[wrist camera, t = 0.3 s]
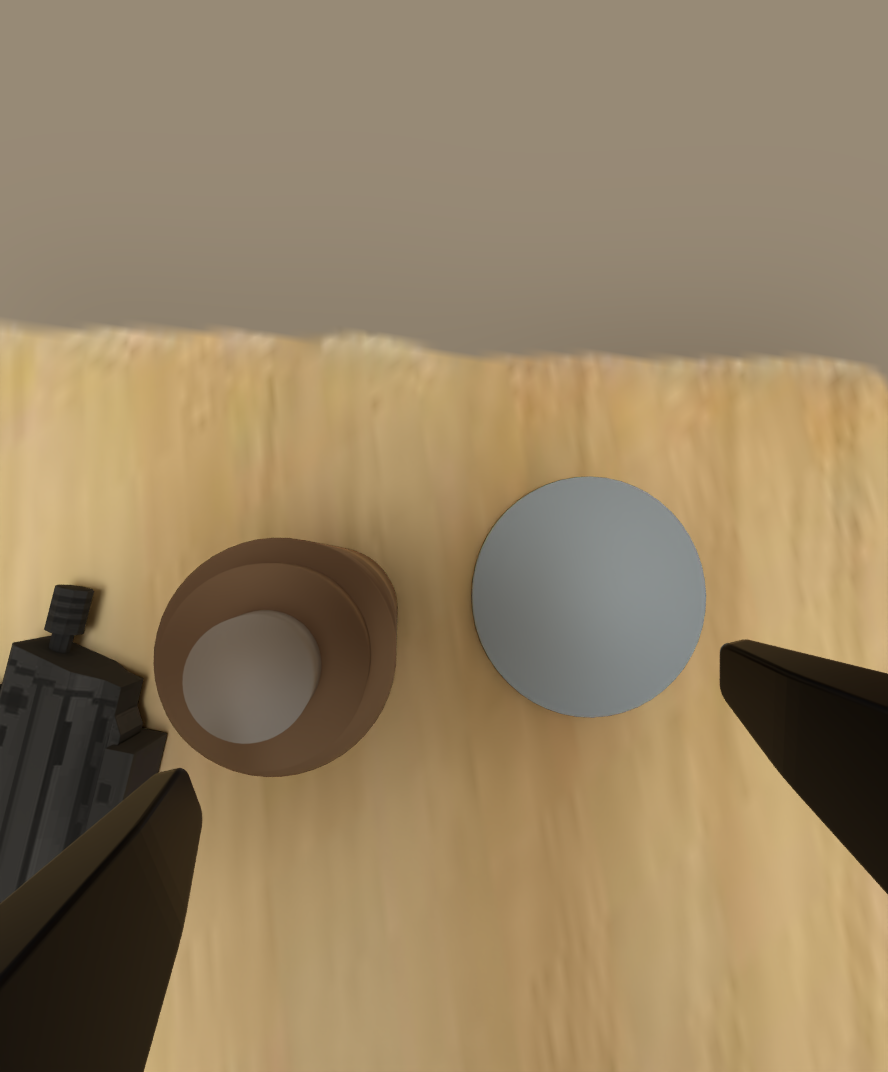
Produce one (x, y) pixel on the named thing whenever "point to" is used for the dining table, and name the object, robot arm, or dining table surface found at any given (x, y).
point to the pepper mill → (277, 655)
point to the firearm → (65, 741)
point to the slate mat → (588, 596)
